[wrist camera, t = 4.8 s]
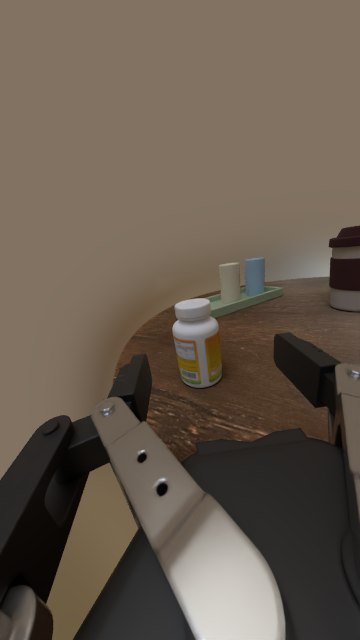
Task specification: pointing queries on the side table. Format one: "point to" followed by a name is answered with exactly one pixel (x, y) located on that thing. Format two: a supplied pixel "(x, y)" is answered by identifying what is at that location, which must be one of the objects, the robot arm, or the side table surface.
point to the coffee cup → (345, 270)
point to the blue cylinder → (254, 276)
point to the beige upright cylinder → (230, 283)
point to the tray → (241, 301)
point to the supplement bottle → (197, 343)
